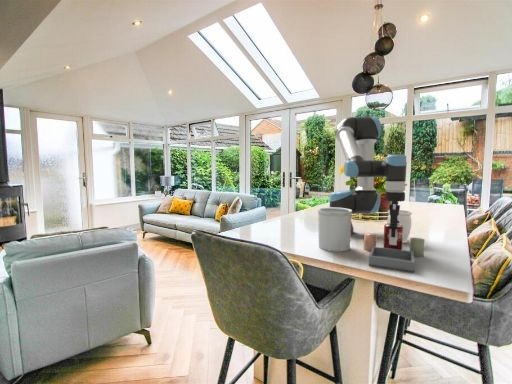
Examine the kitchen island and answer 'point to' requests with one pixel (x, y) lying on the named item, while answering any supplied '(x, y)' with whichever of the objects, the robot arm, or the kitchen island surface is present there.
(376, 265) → the tray
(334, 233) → the utensil holder
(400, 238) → the soda can
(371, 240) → the peach glossy rounded knob
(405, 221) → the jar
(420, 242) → the sage green capsule
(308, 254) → the kitchen island surface
